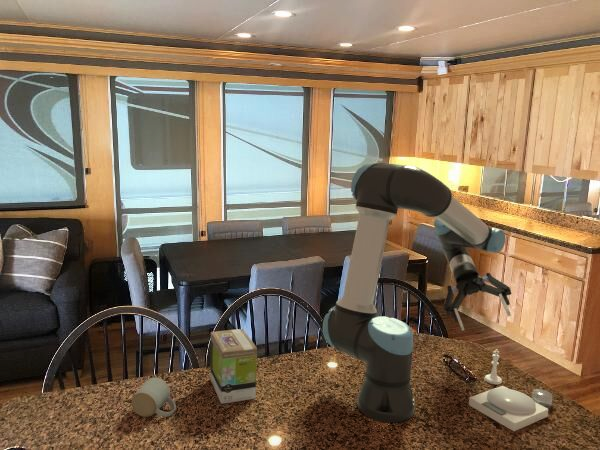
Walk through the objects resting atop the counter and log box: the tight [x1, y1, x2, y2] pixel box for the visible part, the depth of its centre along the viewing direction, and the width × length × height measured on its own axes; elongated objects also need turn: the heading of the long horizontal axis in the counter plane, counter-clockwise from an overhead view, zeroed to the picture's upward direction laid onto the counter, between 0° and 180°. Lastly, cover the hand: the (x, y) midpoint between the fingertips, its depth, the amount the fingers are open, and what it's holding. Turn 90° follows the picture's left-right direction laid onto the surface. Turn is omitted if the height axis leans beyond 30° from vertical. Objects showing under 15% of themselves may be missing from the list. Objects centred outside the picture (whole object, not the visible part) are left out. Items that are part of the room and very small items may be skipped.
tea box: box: [209, 328, 258, 404], centre depth 139 cm, size 15×10×15 cm
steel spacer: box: [531, 388, 553, 409], centre depth 138 cm, size 5×5×3 cm
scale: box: [468, 385, 549, 432], centre depth 134 cm, size 14×14×3 cm
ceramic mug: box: [131, 377, 177, 418], centre depth 127 cm, size 10×8×7 cm
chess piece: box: [483, 348, 503, 385], centre depth 150 cm, size 5×5×10 cm
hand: (485, 320), depth 145 cm, fingers open, 13 cm apart
